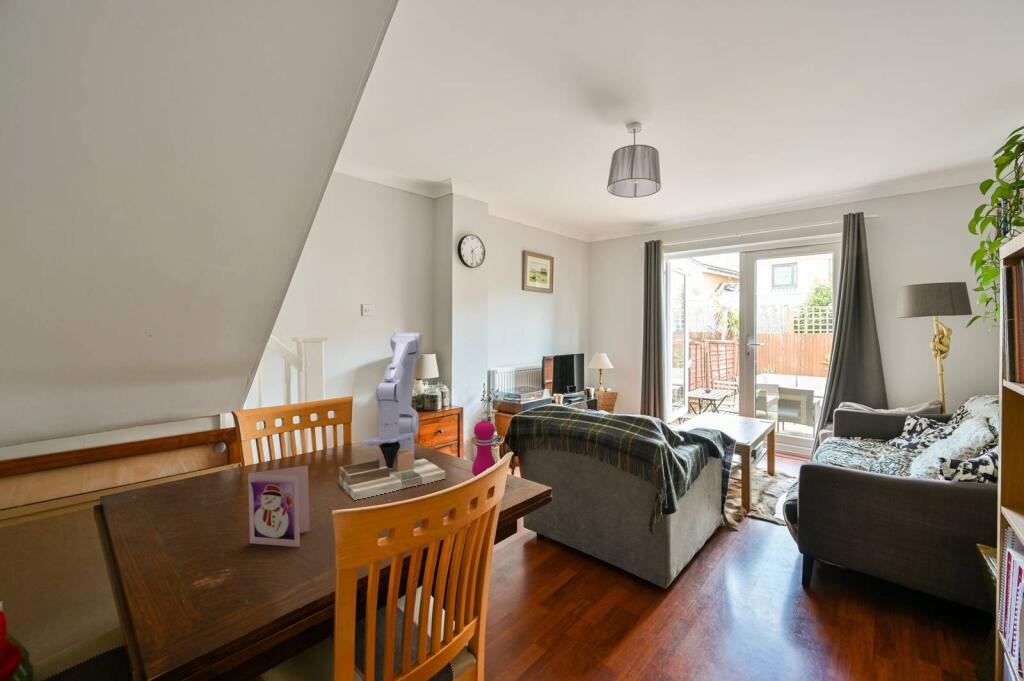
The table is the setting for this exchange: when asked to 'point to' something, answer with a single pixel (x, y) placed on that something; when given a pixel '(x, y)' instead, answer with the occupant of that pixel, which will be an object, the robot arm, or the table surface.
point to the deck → (395, 480)
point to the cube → (404, 460)
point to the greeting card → (279, 506)
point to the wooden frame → (364, 476)
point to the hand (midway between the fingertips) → (389, 467)
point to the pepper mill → (483, 446)
